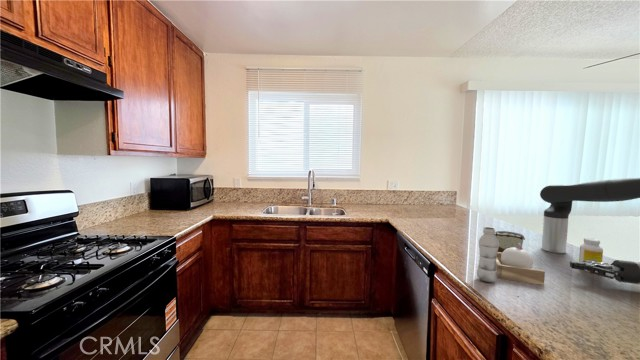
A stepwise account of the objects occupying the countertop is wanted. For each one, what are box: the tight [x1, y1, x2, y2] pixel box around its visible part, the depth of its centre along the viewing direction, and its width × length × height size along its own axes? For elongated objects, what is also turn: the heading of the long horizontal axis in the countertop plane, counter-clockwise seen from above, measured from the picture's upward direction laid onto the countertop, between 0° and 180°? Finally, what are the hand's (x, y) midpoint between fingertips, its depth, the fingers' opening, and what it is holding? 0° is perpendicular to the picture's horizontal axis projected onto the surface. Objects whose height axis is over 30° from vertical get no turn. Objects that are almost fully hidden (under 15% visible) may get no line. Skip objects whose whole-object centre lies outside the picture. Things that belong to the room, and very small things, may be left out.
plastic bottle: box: [476, 226, 499, 283], centre depth 98 cm, size 6×7×20 cm
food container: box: [494, 230, 526, 253], centre depth 128 cm, size 12×6×10 cm, turn 58°
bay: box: [496, 252, 546, 286], centre depth 105 cm, size 17×14×5 cm
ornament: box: [501, 244, 534, 269], centre depth 105 cm, size 10×10×12 cm
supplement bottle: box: [578, 237, 604, 263], centre depth 108 cm, size 7×7×13 cm
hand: (570, 264), depth 98 cm, fingers closed
